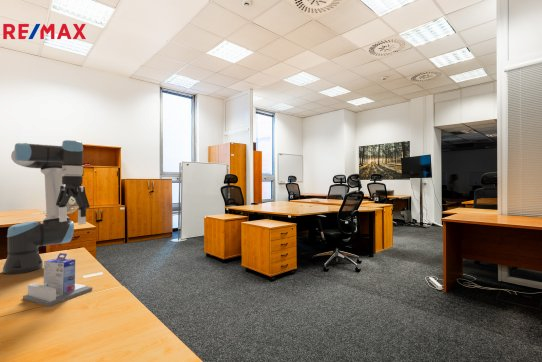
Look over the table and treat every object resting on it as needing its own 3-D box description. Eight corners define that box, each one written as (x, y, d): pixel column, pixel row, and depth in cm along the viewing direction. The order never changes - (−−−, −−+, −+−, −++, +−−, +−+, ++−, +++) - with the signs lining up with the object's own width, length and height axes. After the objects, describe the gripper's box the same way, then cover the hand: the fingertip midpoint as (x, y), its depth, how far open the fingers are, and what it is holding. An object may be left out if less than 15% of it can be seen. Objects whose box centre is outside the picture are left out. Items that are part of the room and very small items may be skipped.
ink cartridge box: (76, 289, 112) (76, 253, 112) (63, 294, 107) (63, 257, 107) (56, 287, 114) (56, 251, 114) (42, 292, 109) (42, 255, 109)
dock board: (22, 298, 106) (22, 285, 106) (67, 284, 121) (67, 272, 121) (48, 306, 100) (48, 292, 100) (92, 290, 114) (92, 277, 114)
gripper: (46, 174, 126) (46, 221, 126) (81, 176, 116) (81, 226, 116) (64, 174, 133) (64, 219, 133) (99, 176, 122) (98, 224, 123)
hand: (72, 222), depth 125 cm, fingers open, 13 cm apart
